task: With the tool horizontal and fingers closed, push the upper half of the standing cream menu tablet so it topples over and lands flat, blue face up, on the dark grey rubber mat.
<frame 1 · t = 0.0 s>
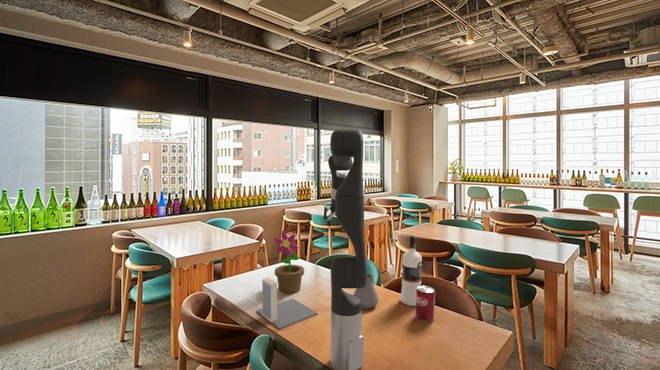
hand: (338, 225, 150), 31 cm above the table, tool tilted 20°, fingers open, 8 cm apart
slate tablet: (269, 317, 123), point 1 cm above the table, touching rubber mat
soda can: (424, 318, 125), on the table
vodka: (410, 302, 139), on the table
rubber mat: (286, 313, 128), on the table
coffee pot: (355, 302, 139), on the table
flowerpot: (289, 290, 151), on the table
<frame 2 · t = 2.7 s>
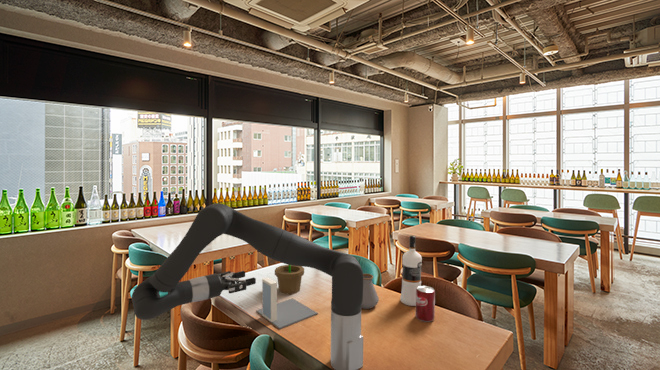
hand: (249, 277, 113), 20 cm above the table, tool horizontal, fingers open, 8 cm apart
nothing on the table moved.
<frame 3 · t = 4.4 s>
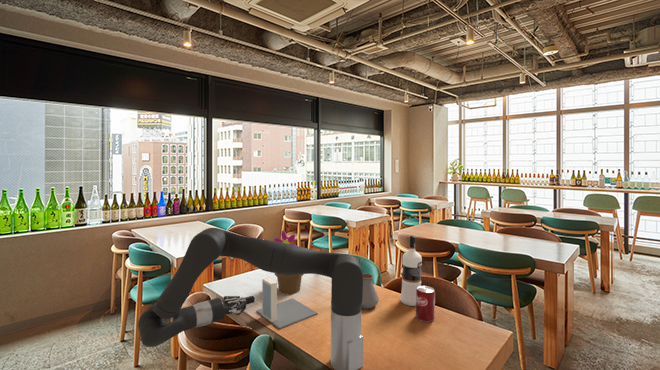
hand: (253, 298, 117), 10 cm above the table, tool horizontal, fingers closed
nothing on the table moved.
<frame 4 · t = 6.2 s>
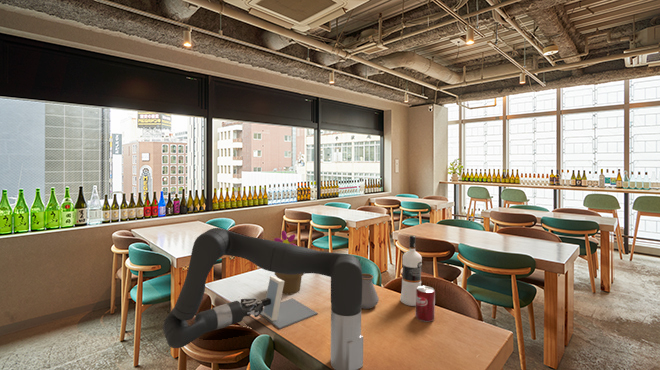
hand: (269, 300, 122), 7 cm above the table, tool horizontal, fingers closed
slate tablet: (269, 317, 123), point 1 cm above the table, tilted 13°, touching rubber mat
everything else where it was.
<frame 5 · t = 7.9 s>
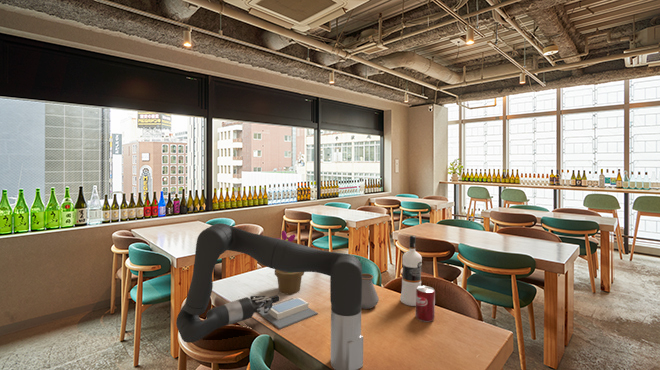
hand: (278, 297, 125), 8 cm above the table, tool horizontal, fingers closed
slate tablet: (272, 313, 123), point 2 cm above the table, tilted 90°, touching rubber mat
everything else where it was.
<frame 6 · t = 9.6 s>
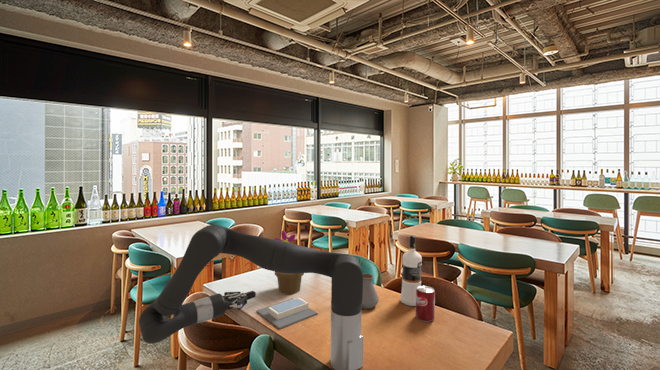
hand: (254, 293, 117), 12 cm above the table, tool horizontal, fingers closed
nothing on the table moved.
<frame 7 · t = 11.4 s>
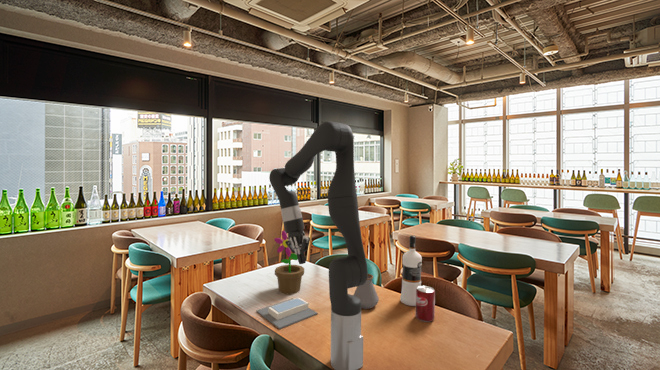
hand: (302, 263, 118), 24 cm above the table, tool tilted 15°, fingers closed
nothing on the table moved.
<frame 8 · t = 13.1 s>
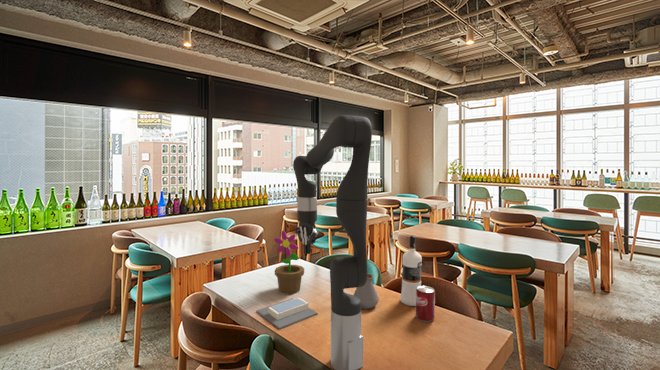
hand: (307, 253, 119), 27 cm above the table, tool pointing down, fingers closed
nothing on the table moved.
at the end: slate tablet tilted 90°; slate tablet inside the target area (6.0 cm from its centre), point 1.8 cm above the table; the gripper is holding nothing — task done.
